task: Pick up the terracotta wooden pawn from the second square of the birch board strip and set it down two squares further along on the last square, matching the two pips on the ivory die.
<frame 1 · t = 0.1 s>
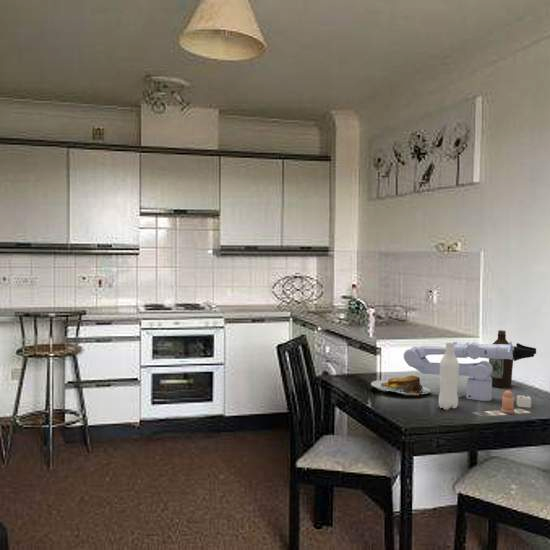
hand: (535, 352, 235), 22 cm above the table, tool horizontal, fingers open, 7 cm apart
pawn: (507, 411, 225), point 1 cm above the table, touching board
olive oil: (499, 386, 274), on the table
board: (501, 415, 224), on the table
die: (523, 408, 235), on the table
water bottle: (447, 409, 232), on the table
food on plate: (400, 392, 259), on the table
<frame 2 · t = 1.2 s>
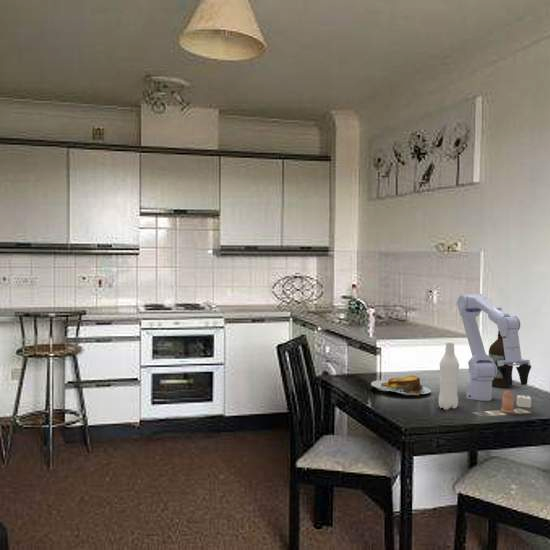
hand: (516, 385, 225), 11 cm above the table, tool tilted 15°, fingers open, 7 cm apart
nothing on the table moved.
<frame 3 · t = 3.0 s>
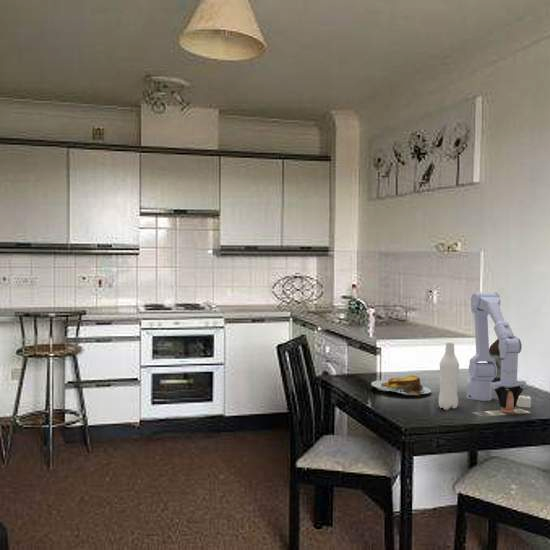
hand: (507, 406, 225), 3 cm above the table, tool pointing down, fingers closed on pawn, 4 cm apart
pawn: (507, 411, 225), point 1 cm above the table, touching board, gripper
everything else where it was.
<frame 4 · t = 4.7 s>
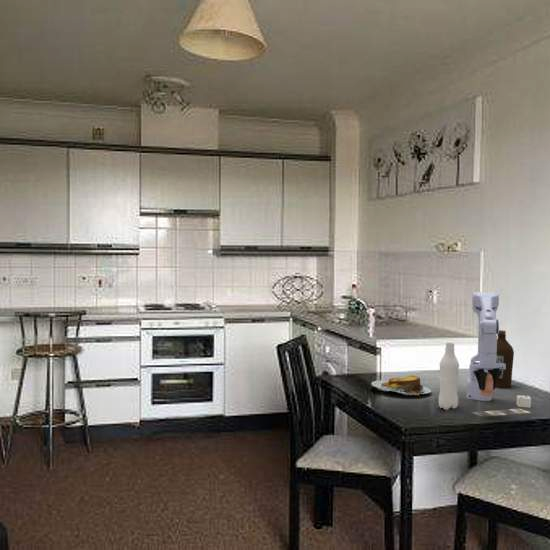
hand: (486, 389, 221), 10 cm above the table, tool pointing down, fingers closed on pawn, 4 cm apart
pawn: (486, 394, 221), point 8 cm above the table, touching gripper
everything else where it was.
when the fingers open (4 cm above the table, at t = 6.4 s): pawn stays where it is, resting on board.
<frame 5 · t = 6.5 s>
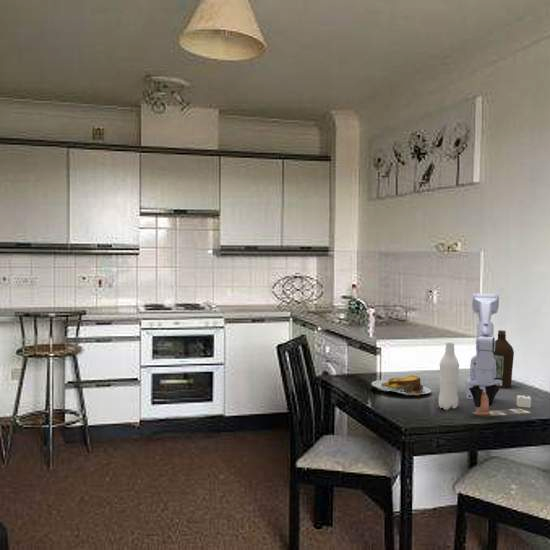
hand: (483, 406, 221), 4 cm above the table, tool pointing down, fingers open, 5 cm apart
pawn: (483, 413, 221), point 1 cm above the table, touching board, gripper
everything else where it was.
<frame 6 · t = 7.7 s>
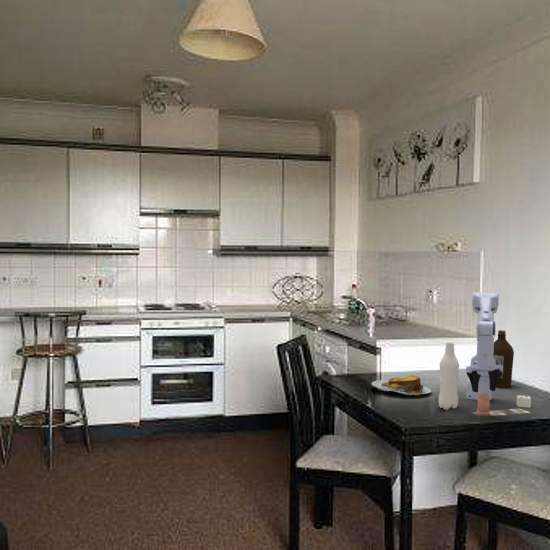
hand: (483, 391, 221), 9 cm above the table, tool pointing down, fingers open, 7 cm apart
pawn: (483, 414, 221), point 1 cm above the table, touching board
everything else where it was.
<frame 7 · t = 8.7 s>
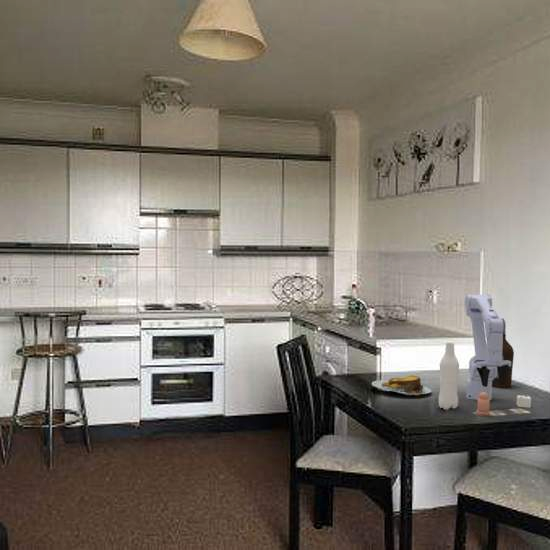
hand: (493, 385, 231), 9 cm above the table, tool pointing down, fingers open, 7 cm apart
nothing on the table moved.
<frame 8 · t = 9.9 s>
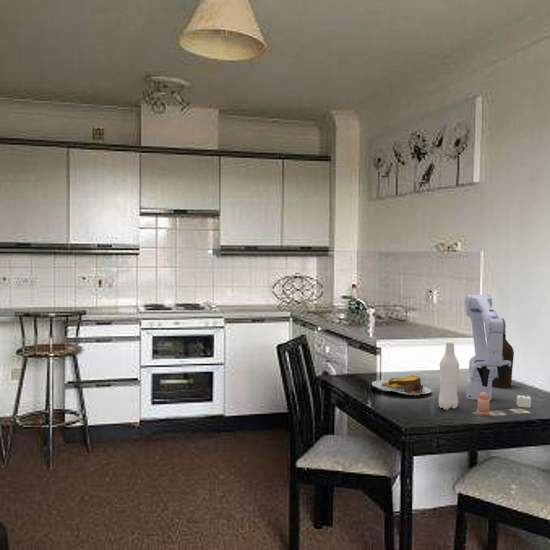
hand: (493, 385, 231), 9 cm above the table, tool pointing down, fingers open, 7 cm apart
nothing on the table moved.
at the end: pawn 0.1 cm from the target spot, point 1.0 cm above the table; pawn tilted 0°; the gripper is holding nothing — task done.
